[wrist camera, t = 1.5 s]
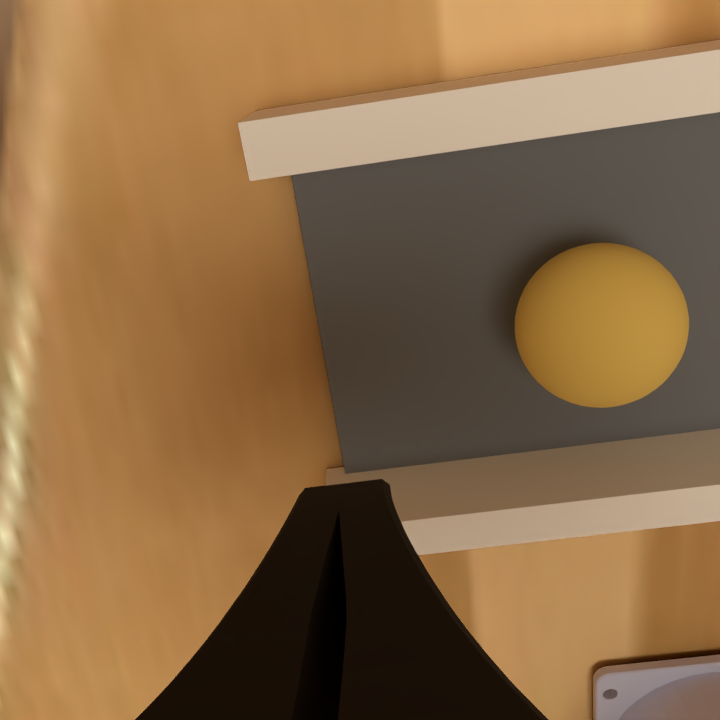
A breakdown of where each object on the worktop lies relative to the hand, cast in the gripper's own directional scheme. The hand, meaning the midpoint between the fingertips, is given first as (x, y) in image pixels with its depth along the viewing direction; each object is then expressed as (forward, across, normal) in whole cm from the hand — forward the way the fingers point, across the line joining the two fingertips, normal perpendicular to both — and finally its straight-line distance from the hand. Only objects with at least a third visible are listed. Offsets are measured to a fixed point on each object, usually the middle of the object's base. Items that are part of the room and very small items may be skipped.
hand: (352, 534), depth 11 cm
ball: (+9, -6, 0) cm, 11 cm away
